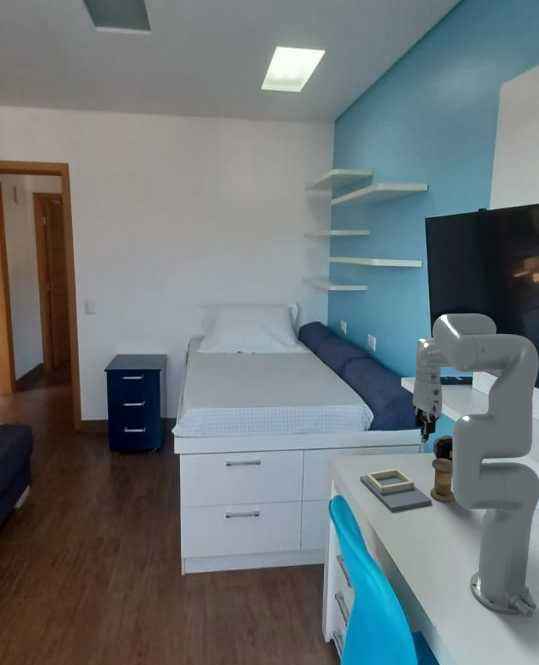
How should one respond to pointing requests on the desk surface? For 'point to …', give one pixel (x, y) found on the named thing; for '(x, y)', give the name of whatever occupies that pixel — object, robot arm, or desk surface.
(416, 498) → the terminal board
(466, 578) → the desk surface
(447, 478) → the wooden cabinet knob
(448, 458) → the cpu cooler
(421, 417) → the push button
